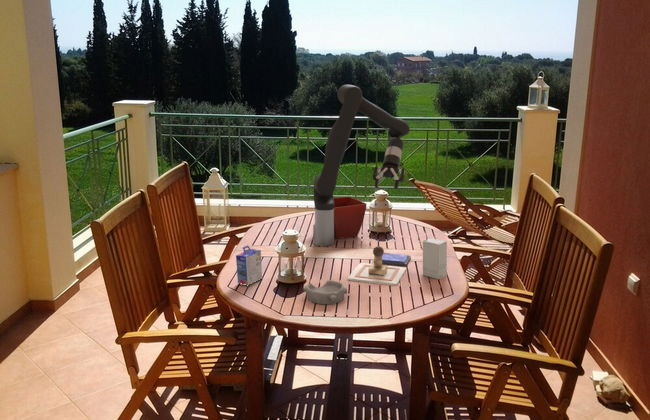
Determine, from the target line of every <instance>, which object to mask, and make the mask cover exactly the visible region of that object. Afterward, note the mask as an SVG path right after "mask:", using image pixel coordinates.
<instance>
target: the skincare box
mask: <svg viewBox="0 0 650 420" xmlns="http://www.w3.org/2000/svg"><path fill="white" fill-rule="evenodd" d="M447 243H448V241H447V240H442V239H437V238H433V237H430V238H427V239H425V240H423V241H422V276H425V277H429V278H433V279H435V280H436V279H437V280H440V279H442V278H446V277H447V276H448V275H447V273H448V272H447V271H448V269H447V268H448V267H447V265H448V263H447V262H448V261H447V259H448V258H447V257H448V255H447V254H448V252H447V251H448V249H447V248H448V247H447V246H448V244H447Z"/></svg>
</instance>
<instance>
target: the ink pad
mask: <svg viewBox="0 0 650 420" xmlns="http://www.w3.org/2000/svg"><path fill="white" fill-rule="evenodd" d="M411 257H412V256H411V255H408V254H399V253H390V252H384V254H383V255H382V265H388V266H396V267H406V268H407V266H408V264H409V262H410V261H411Z"/></svg>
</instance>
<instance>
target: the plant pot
mask: <svg viewBox="0 0 650 420" xmlns="http://www.w3.org/2000/svg"><path fill="white" fill-rule="evenodd" d="M333 199H334V240H337V239H345V238H352V237H358V236H359V234H360V230H361V228H362V226H363V221H364V219H365V215H366V211H367V203H365V202H363V201H362V200H359V199H357V198H354V197H352V196H342V197H341V196H339V197H333Z"/></svg>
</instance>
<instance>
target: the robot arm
mask: <svg viewBox="0 0 650 420" xmlns="http://www.w3.org/2000/svg"><path fill="white" fill-rule="evenodd" d="M337 98H338V100H339V102H340V103H341V104H342V105H341V106H342V107H341V110H340V114H339V116H338V118H337V119H336V121H335V122H334V124H333V125H332V126H331V128H330V130H329V133H328V137H327V140H326V145H325V150H324V151H325V152H324V161H323V162H324V163H323V166H322V170H321V172H320V173H319V174H318V175H317V176H316V177H315V178H314V179H313V202H314V224H313V226H312V229H313V230H312V236H313V241H312V243H313V245H317V246H318V247H319V246H320V247H329V246H333V245H334V244H335V239H334V199H333V198H334V191H335V190H336V188H337V180H338V176H339V170H340V168H341V164H342V162H343V159H344V156H345V152H346V149H347V146H348V142H349V139H350V136H351V132H352V130H353V125H354V122H355V120H356V116H357V113H358V112H359V113H361V114H362V115H364V116H365V117H367V118H368V119H370V120H371V121H372V122H373V123H375V124H376V125H377V126H379V127H381V128H382V129H384V130H387V140H388V144H387V148H386V151H385V153H384V158H383V162H382V167H379V166H375V167H374V170H373V174H372V179H373V181H375V182H374V187H375V188H376V189H379V185H380V181H381V180H383V179H385V178H387V179H388V178H389V179H390V178H391V179H392V178H393V179H394V180H395V182H394V186H393V188H394V190H397V189H398V188H399V185H400V182H401V183H403V182H405V178H406V177H405V174H406V170H405V168H404V167H402V168H400V164H401V160H402V152H403V148H404V141H403V139H402V138H403V137H405V136H407V135H408V134H410V130H411V127H410V125H409V124H408V123H407V121H405V120H404V119H401V118H400V117H396V116H394V115H391V114H390V113H389V112H387V111H385V110H384V109H382V108H381V107H379V106H378V105H376V104H374V103H373V102H370V101H369V100H368V99H366V98H364V97H363V91H362V89H361V88H360V87H358V86H356V85H352V84H343V85H341V86H340V87H339V88H338V89H337ZM399 173H400V177H399V176H398V174H399Z"/></svg>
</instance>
